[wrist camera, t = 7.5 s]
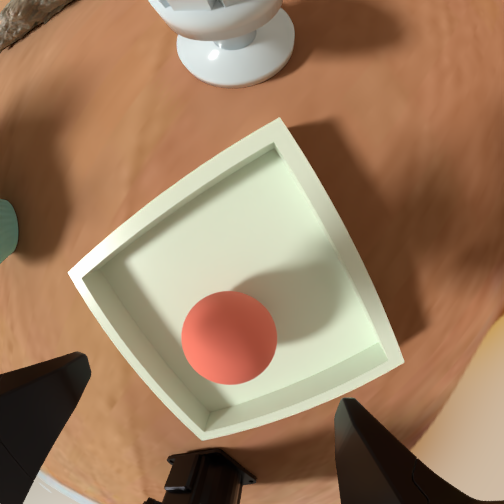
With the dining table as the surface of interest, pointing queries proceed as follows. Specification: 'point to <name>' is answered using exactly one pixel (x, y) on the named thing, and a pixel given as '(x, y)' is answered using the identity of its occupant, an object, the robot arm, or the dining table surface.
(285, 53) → the chess rook
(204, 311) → the ball
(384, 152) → the dining table surface
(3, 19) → the long grey stone
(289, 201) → the tray
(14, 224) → the cupcake
